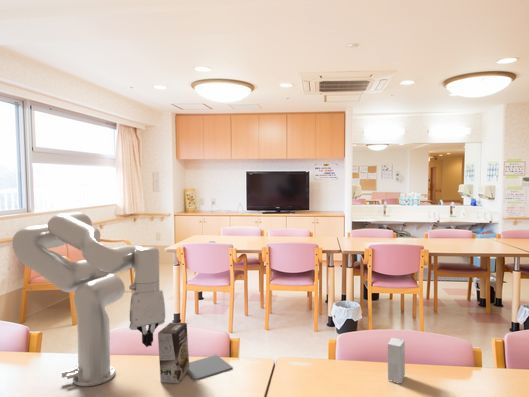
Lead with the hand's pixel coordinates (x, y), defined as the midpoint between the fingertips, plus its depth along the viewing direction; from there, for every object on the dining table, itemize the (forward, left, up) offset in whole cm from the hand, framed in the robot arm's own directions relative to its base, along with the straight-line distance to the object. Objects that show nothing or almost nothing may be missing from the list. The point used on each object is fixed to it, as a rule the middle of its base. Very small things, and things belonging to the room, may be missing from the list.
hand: (147, 344), depth 116 cm
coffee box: (+9, 0, -12) cm, 15 cm away
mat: (+20, 0, -13) cm, 24 cm away
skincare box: (+67, -42, -13) cm, 80 cm away
